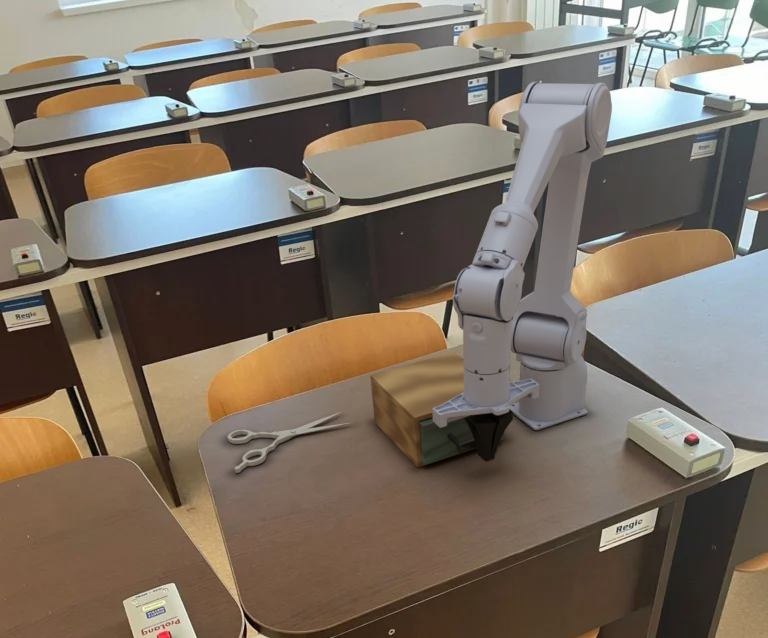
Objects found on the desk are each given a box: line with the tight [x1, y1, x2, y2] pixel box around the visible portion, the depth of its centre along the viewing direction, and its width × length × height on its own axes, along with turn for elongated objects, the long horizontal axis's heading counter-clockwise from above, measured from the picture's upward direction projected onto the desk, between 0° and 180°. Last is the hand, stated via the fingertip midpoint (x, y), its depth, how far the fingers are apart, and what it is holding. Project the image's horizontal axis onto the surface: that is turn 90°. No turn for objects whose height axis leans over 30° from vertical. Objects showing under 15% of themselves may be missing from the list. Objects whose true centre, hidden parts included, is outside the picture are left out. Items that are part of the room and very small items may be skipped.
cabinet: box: [369, 351, 464, 468], centre depth 111 cm, size 15×14×8 cm
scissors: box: [227, 411, 355, 474], centre depth 115 cm, size 11×1×20 cm
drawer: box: [419, 418, 506, 466], centre depth 108 cm, size 18×13×6 cm
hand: (486, 456), depth 101 cm, fingers closed, pressing on drawer
